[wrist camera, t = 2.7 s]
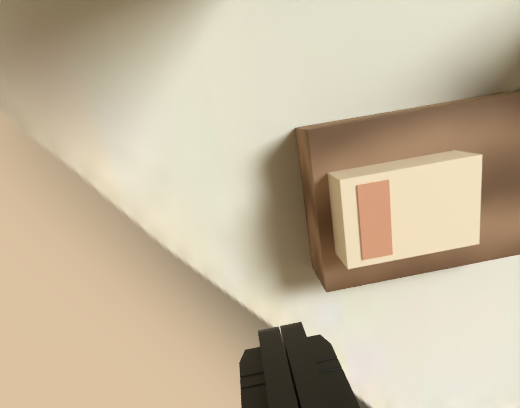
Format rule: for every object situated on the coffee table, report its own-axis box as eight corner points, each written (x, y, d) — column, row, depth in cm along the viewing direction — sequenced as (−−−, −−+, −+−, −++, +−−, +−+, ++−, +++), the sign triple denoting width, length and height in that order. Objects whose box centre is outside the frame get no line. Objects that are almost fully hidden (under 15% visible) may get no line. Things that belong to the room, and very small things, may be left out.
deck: (295, 127, 25) (307, 130, 21) (505, 92, 25) (554, 88, 22) (312, 267, 28) (326, 292, 24) (498, 232, 29) (539, 250, 25)
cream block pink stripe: (327, 172, 22) (340, 180, 19) (454, 150, 22) (483, 154, 20) (335, 253, 23) (348, 270, 21) (453, 230, 24) (480, 244, 21)
